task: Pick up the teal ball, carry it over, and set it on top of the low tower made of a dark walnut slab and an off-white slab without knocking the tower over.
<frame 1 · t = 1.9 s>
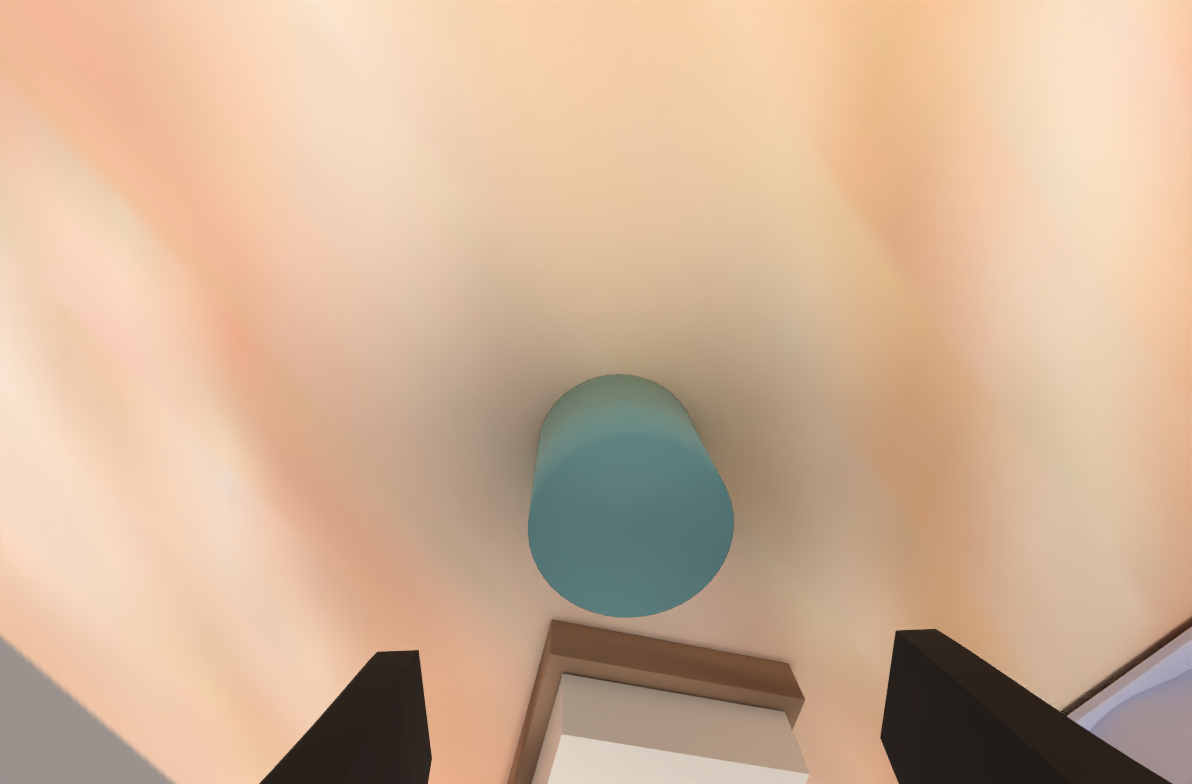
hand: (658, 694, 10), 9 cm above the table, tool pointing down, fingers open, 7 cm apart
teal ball: (617, 450, 19), on the table
walnut slab: (638, 723, 23), on the table, touching off-white slab
off-white slab: (645, 779, 20), point 2 cm above the table, touching walnut slab
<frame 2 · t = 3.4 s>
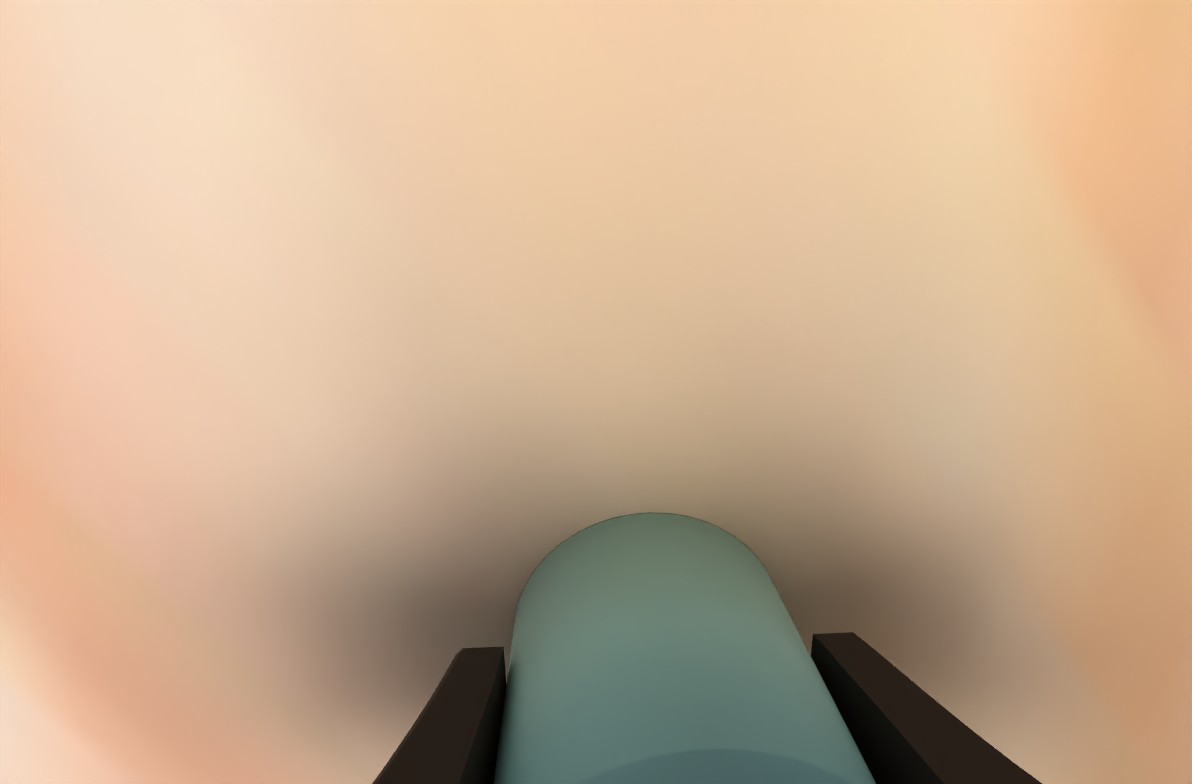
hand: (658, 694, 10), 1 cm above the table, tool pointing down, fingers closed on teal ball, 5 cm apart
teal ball: (647, 632, 11), on the table, touching gripper
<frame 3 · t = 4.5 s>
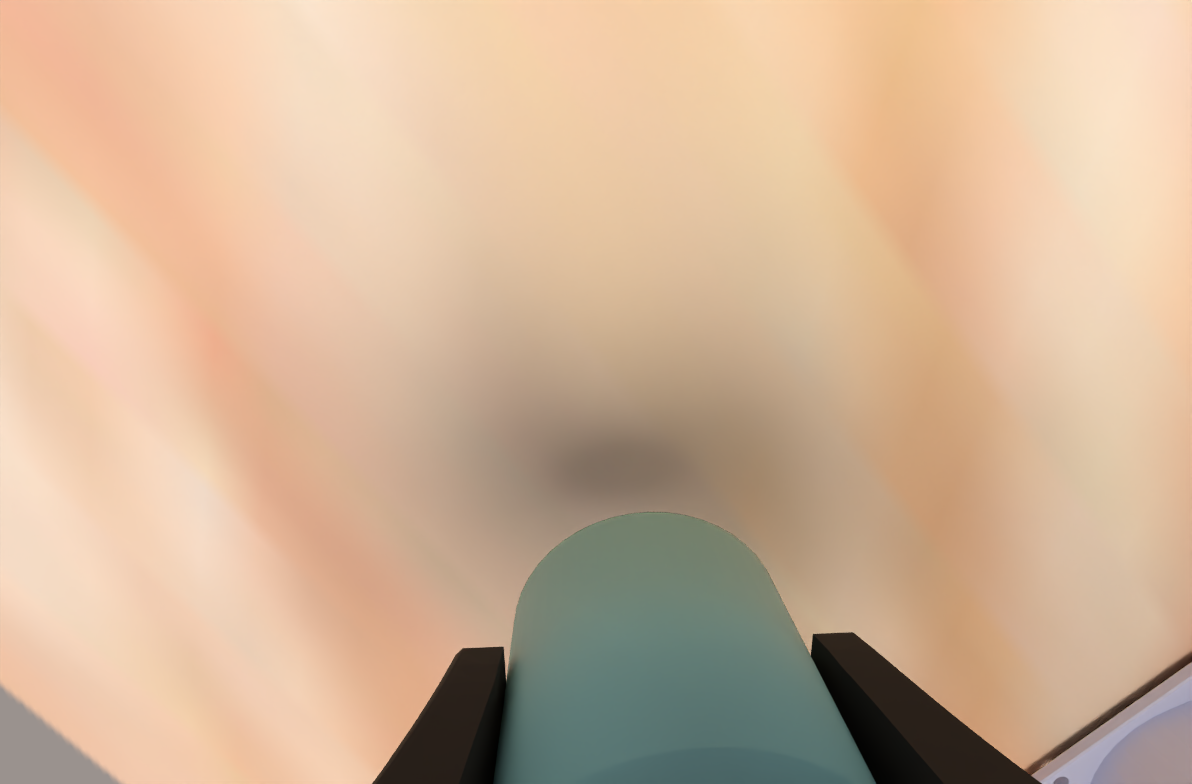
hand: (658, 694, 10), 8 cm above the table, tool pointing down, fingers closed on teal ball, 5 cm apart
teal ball: (647, 631, 11), point 7 cm above the table, touching gripper
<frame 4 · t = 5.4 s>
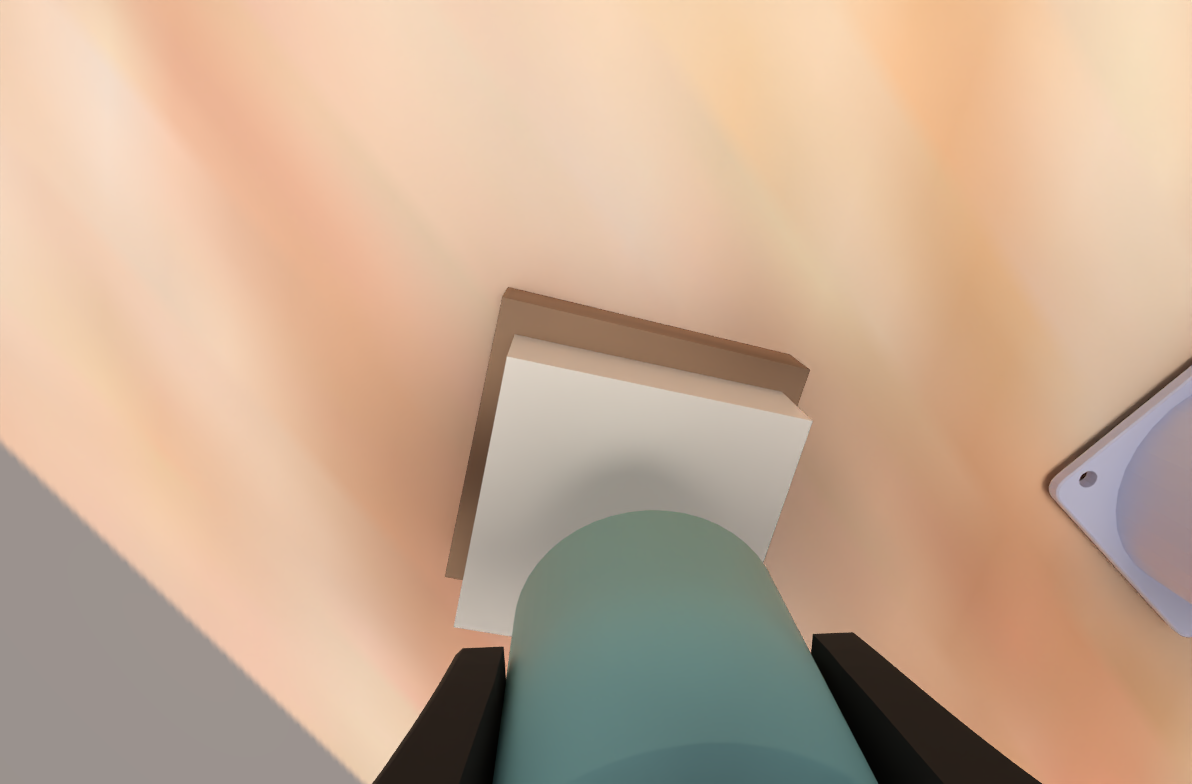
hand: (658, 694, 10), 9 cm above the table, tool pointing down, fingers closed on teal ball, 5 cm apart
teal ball: (647, 630, 11), point 8 cm above the table, touching gripper
walnut slab: (614, 445, 19), on the table, touching off-white slab
off-white slab: (618, 486, 17), point 2 cm above the table, touching walnut slab
when the fingers open (7 cm above the table, at t = 6.3 s): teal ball stays where it is, point 6 cm above the table.
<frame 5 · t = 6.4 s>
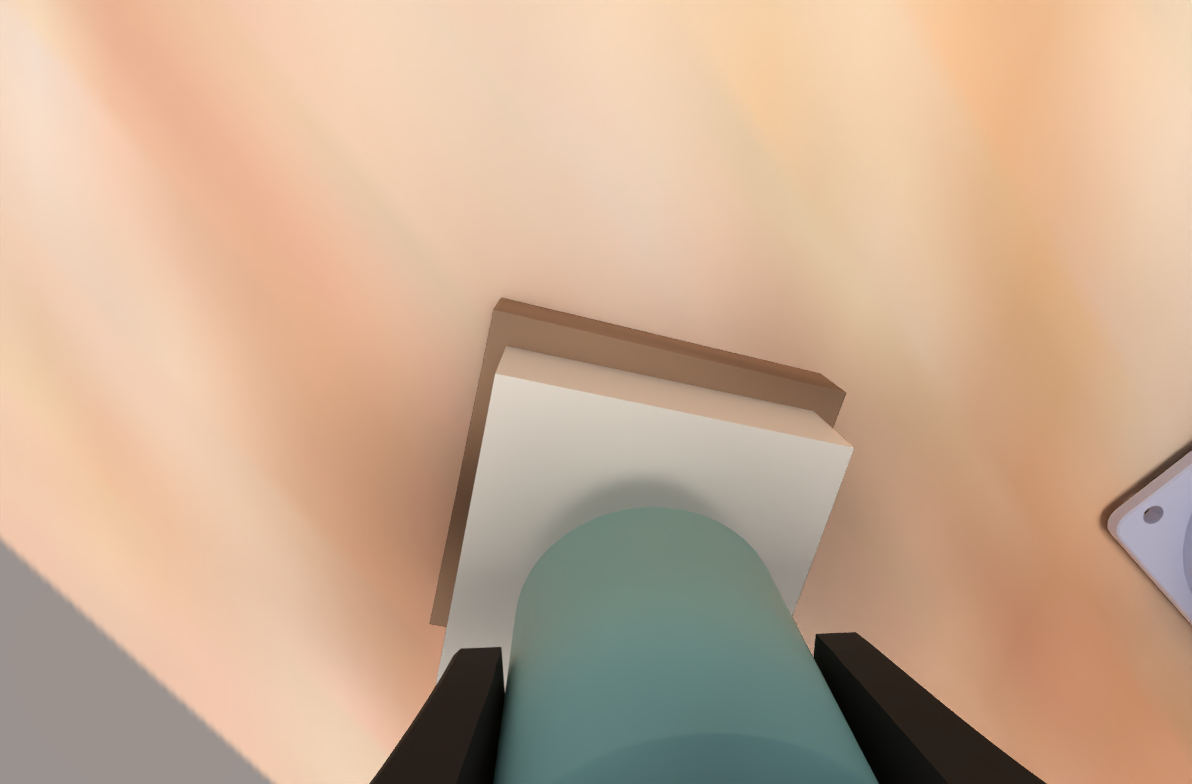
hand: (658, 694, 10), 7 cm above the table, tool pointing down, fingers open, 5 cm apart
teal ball: (647, 626, 11), point 6 cm above the table
walnut slab: (621, 474, 17), on the table, touching off-white slab
off-white slab: (625, 518, 15), point 2 cm above the table, touching walnut slab
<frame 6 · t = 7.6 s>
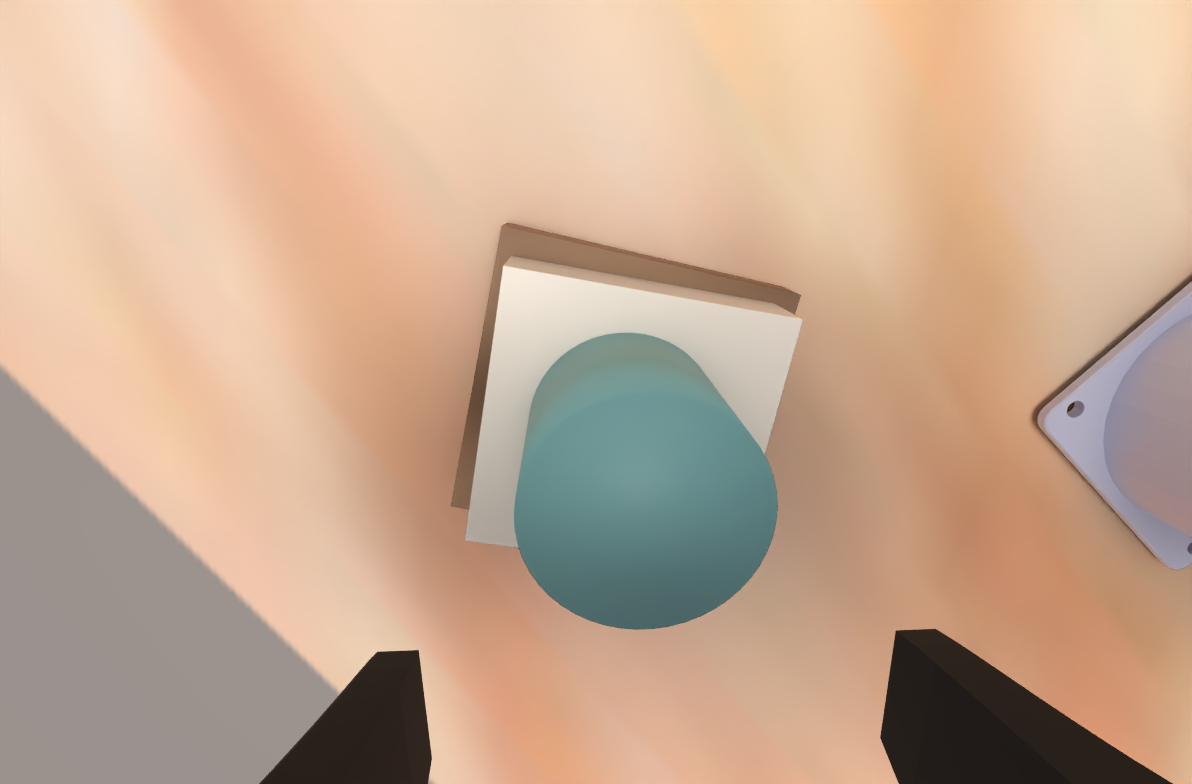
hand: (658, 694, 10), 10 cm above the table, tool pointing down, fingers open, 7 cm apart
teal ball: (624, 425, 16), point 4 cm above the table, touching off-white slab
walnut slab: (613, 382, 20), on the table, touching off-white slab
off-white slab: (619, 405, 18), point 1 cm above the table, touching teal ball, walnut slab
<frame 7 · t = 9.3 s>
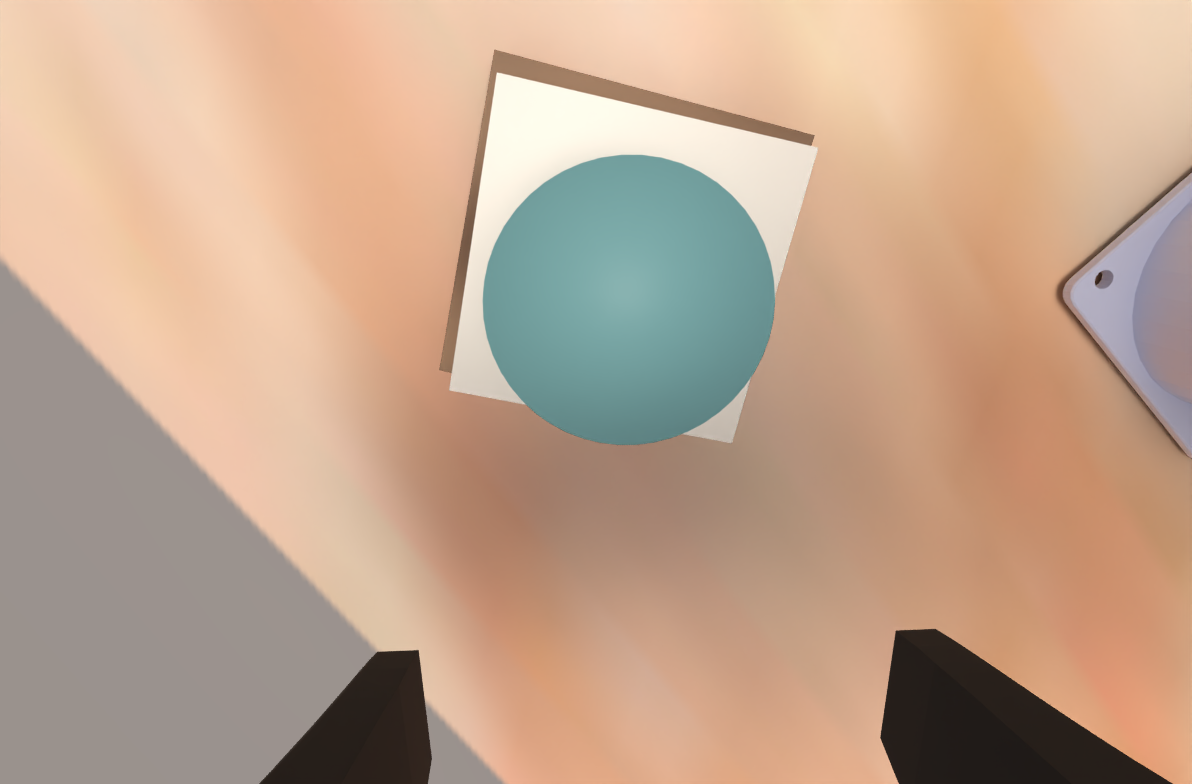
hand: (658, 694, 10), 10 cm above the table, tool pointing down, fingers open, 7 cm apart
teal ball: (617, 271, 15), point 4 cm above the table, touching off-white slab
walnut slab: (613, 250, 19), on the table, touching off-white slab
off-white slab: (618, 263, 17), point 1 cm above the table, touching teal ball, walnut slab
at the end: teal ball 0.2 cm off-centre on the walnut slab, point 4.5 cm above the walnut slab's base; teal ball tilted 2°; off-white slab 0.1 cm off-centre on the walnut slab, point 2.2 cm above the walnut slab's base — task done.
